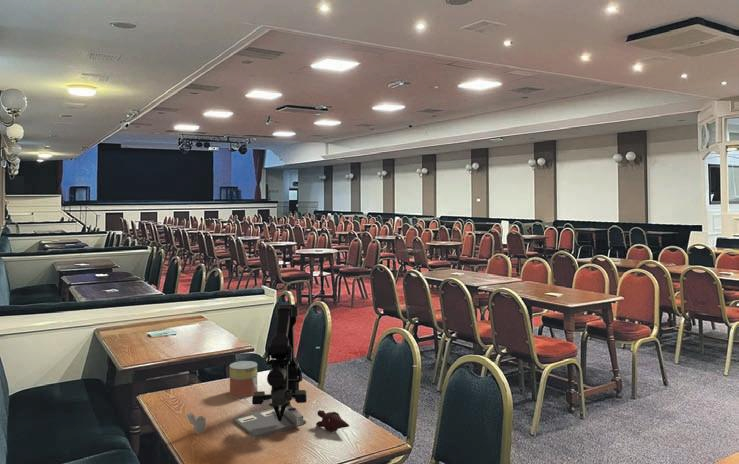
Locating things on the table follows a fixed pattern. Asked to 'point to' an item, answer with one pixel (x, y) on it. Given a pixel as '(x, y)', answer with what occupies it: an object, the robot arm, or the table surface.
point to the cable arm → (293, 414)
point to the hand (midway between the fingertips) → (279, 420)
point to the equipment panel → (264, 423)
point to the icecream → (331, 421)
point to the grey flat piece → (197, 423)
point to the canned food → (243, 379)
